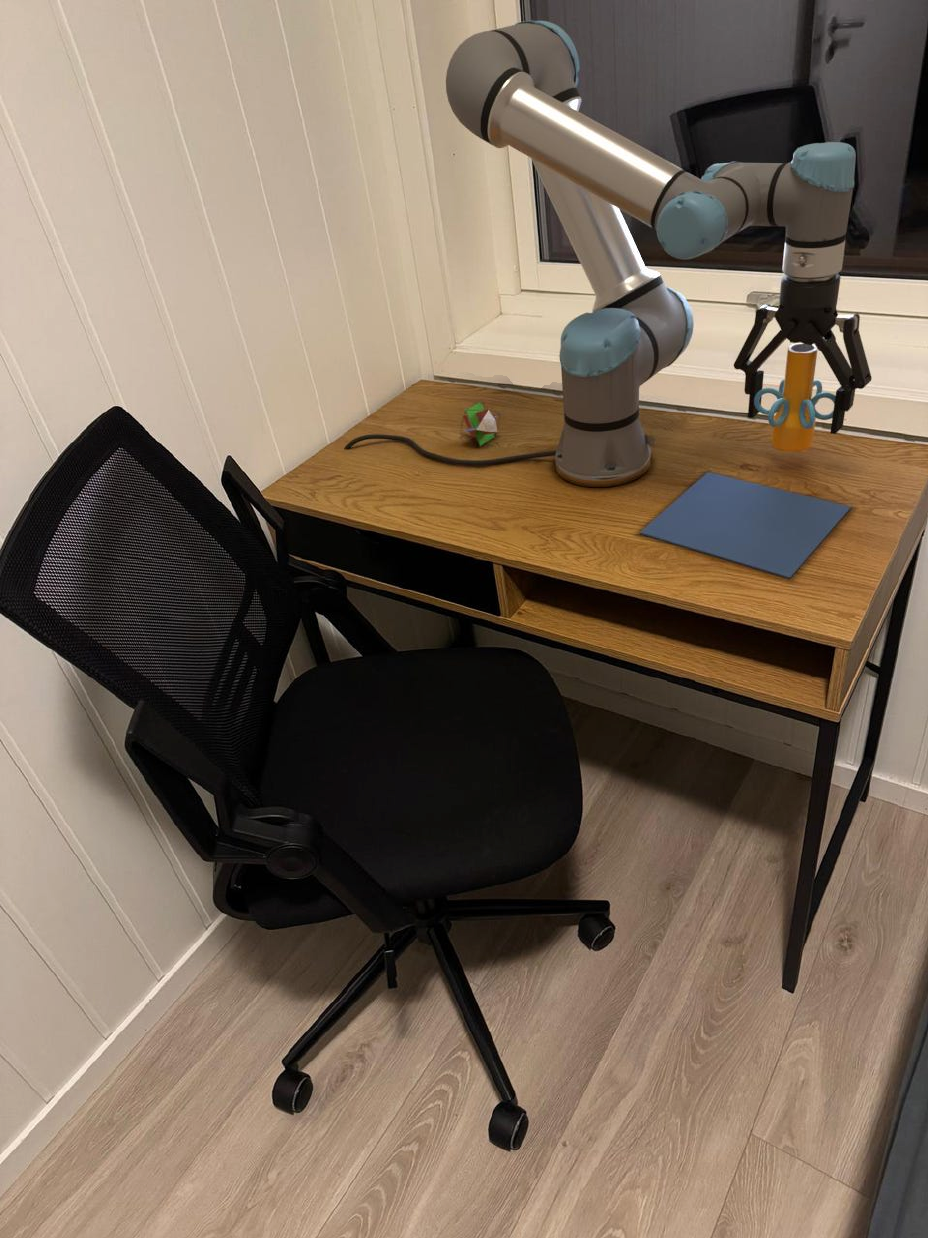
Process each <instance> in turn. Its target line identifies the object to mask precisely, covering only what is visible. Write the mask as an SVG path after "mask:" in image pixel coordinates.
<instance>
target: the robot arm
mask: <svg viewBox="0 0 928 1238" xmlns="http://www.w3.org/2000/svg"><path fill="white" fill-rule="evenodd" d="M580 68H581V67H580V59H579V54H578V51H577V49H576V46H575V44H574V41H572V39H571V37H570V36H569V35H568V33H567V32H566V31H565V30H564V29H563V28H561V27H560V26H559V25H558V24H556V23H553V22H550V21H546V20H532V19H531V20H529V19H528V20H523V21H519V22H517V23H515V24H512V25H508V26H504V27H500V28H495V29H491V30H485V31H481V32H477V33H475V34H472V35H470V36H469V37H467V38H465V40H463V41H462V42H461V43H460V44H459V46H457V48H456V49H455V51H454V52H453V54H452V55H451V58H450V60H449V63H448V66H447V69H446V74H445V75H446V76H445V90H446V91H445V92H446V97H447V101H448V104H449V106H450V109H451V110H452V113H453V114H454V116H455V118H457V120H458V121H459V123H460V124H461V125H462V126H463V127H465V128H466V130H468V132H470V133H471V134H474V136H476V137H478V138H479V139H481V140H482V141H484V142H486V143H488V144H490V145H491V146H493V147H495V148H497V149H504V148H507V147H508V146H509V147H511V148H513V149H514V150H516V151H518V152H520V153H521V154H523V155H525V156H526V157H528V158H530V160H531V161H532V164H533V166H534V167H535V171H536V172H537V174H538V176H539V178H540V181H541V182H542V184H543V187H544V189H545V191H546V194H547V195H548V197H549V200H550V202H551V204H552V206H553V208H554V210H555V212H556V214H557V217H558V219H559V221H560V223H561V225H562V227H563V229H564V232H565V233H566V236H567V238H568V239H569V243H570V244H571V246H572V248H573V251H574V252H575V255H576V257H577V259H578V261H579V263H580V265H581V267H582V270H583V272H584V274H585V276H586V278H587V280H588V282H589V284H590V287H591V288H592V291H593V293H594V296H595V300H594V303H593V307H592V310H591V311H592V312H584V313H582V314H580V315H578V316H576V317H574V318H573V319H571V320H570V321H569V322H568V323H567V324H566V325H565V327H564V328H563V330H562V332H561V335H560V349H559V357H558V358H559V363H560V370H561V386H562V403H563V418H564V419H563V420H564V423H563V426H562V431H561V434H560V438H559V441H558V444H557V447H556V450H546V451H540V452H532V453H526V454H525V453H524V454H518V455H512V456H505V457H498V458H492V459H480V460H479V459H478V460H477V459H476V460H474V459H459V458H452V457H447V456H443V455H441V454H440V455H439V454H436V453H433V452H430V451H428V450H426V449H424V448H422V447H420V445H419V444H417V443H416V442H415V441H414V440H413V439H411V438H409V437H406V436H401V435H392V434H381V433H379V434H378V433H377V434H376V433H375V434H374V433H373V434H365V435H361V436H358V437H355V438H353V439H352V440H350V441H349V442H348V443H347V444H346V445H345V446H344V448H343V449H344V450H350V449H351V448H352V447H353V446H355V445H356V444H357V443H360V442H362V441H368V440H387V441H388V440H389V441H398V442H399V441H400V442H403V443H406V444H408V445H410V446H411V447H412V448H413V449H414V450H416V451H417V452H418V453H420V454H421V455H423V456H425V457H428V458H430V459H433V460H436V461H439V462H444V463H448V464H453V465H460V466H461V465H462V466H488V465H489V466H490V465H496V464H504V463H509V462H516V461H523V460H530V459H538V458H545V457H554V463H555V471H556V473H557V474H558V475H559V477H561V478H562V479H563V480H565V481H567V482H568V483H571V484H574V485H578V486H583V487H592V488H604V487H613V486H619V485H624V484H626V483H629V482H632V481H635V480H636V479H639V478H641V477H642V476H643V475H644V474H645V473H647V471H648V470H649V469H650V467H651V460H652V459H651V457H652V456H651V454H652V453H651V452H652V451H651V448H650V446H651V447H653V448H655V438H654V437H652V436H650V435H647V434H646V433H645V431H644V428H643V425H642V423H641V420H640V387H641V386H643V385H644V384H645V383H646V382H647V381H649V380H650V379H652V378H653V377H654V376H655V375H656V374H658V373H659V372H661V371H662V370H663V369H665V368H667V367H670V366H671V365H673V364H674V363H675V361H677V359H679V357H680V356H681V355H682V354H683V353H684V352H685V351H686V350H687V348H688V347H689V344H690V342H691V339H692V337H693V333H694V322H695V321H694V315H693V311H692V308H691V306H690V304H689V302H688V300H687V299H686V297H684V295H683V294H682V293H681V292H680V291H675V290H674V288H672V287H669V286H666V284H665V282H664V279H663V278H662V276H661V273H660V272H659V271H655V270H652V269H649V268H647V266H645V263H644V261H643V259H642V257H641V254H640V252H639V250H638V248H637V245H636V243H635V241H634V238H633V236H632V234H631V232H630V230H629V228H628V225H627V223H626V220H625V219H624V217H623V214H622V212H623V213H625V214H627V215H629V216H631V217H633V218H635V219H636V220H638V221H640V222H641V223H643V224H645V225H647V226H648V227H649V228H651V229H653V230H655V231H656V236H657V239H658V242H659V243H660V245H661V247H662V248H663V250H664V252H666V253H667V254H668V255H669V256H671V257H673V258H675V259H677V260H683V261H684V260H685V261H686V260H692V259H695V258H697V257H700V256H702V255H704V254H708V253H710V252H712V251H713V250H715V248H718V246H719V245H721V244H722V243H723V242H725V241H726V240H728V239H729V238H731V237H733V236H734V235H737V234H738V233H740V232H741V231H743V230H744V229H747V228H748V227H754V226H756V227H757V226H759V227H777V228H778V227H785V237H784V249H783V259H782V272H783V274H784V275H783V276H782V277H781V279H780V289H779V291H780V292H779V305H778V308H777V307H772V306H771V304H770V303H765V304H763V305H762V306H760V307H759V308H757V310H756V311H755V317H754V323H753V325H752V328H751V329H750V331H749V333H748V336H746V339H745V341H744V343H743V345H742V347H741V349H740V351H739V353H738V354H737V357H736V359H735V360H734V363H733V368H734V369H735V370H740V371H742V372H743V373H744V374H745V377H744V395H747V396H748V395H749V398H748V408H747V409H748V410H747V418H749V419H754V417H756V416H757V415H759V414H760V412H759V411H758V410H757V409H756V407H755V405H754V398H755V395H756V394H757V393H758V392H759V391H760V390H762V389H763V385H764V376H765V375H764V374H765V371H764V370H761V366H762V365H764V364H765V363H766V361H767V360H768V359H769V358H770V357H771V356H772V355H773V354H774V353H775V351H777V350H778V348H779V347H780V346H781V345H782V344H783V343H784V342H785V341H786V340H788V341H789V343H792V344H795V343H803V344H806V345H812V344H814V345H816V347H817V349H818V350H817V351H819V352H821V354H822V355H823V357H824V359H825V361H826V362H827V364H828V366H829V368H830V369H831V371H832V373H833V374H834V376H835V378H836V380H837V381H838V383H839V385H840V387H838V388H837V390H836V391H835V403H834V402H833V410H832V411H833V417H832V418H831V425H830V431H829V433H830V434H834V435H836V434H838V432H839V431H840V430H841V429H842V428H843V427H844V421H845V415H846V412H849V410H851V409H852V407H853V406H854V402H855V401H854V400H855V396H856V395H855V394H856V390H857V389H859V390H862V389H864V388H865V387H866V386H868V384H869V383H871V382H872V380H873V379H872V373H871V370H870V366H869V363H868V359H867V355H866V352H865V348H864V343H863V341H862V338H861V337H862V336H861V334H860V333H861V332H860V321H861V316H860V314H859V313H858V312H854V313H852V314H851V315H842V314H839V313H838V311H837V305H838V300H839V292H840V285H841V275H840V274H839V273H840V272H841V271H842V269H843V263H844V254H845V247H846V238H847V231H848V230H847V229H848V225H849V224H848V223H849V216H850V211H851V204H852V197H853V192H854V188H855V171H856V170H855V169H856V158H857V157H856V156H857V154H856V149H855V148H854V147H853V146H852V145H851V144H849V143H846V142H839V141H827V142H826V141H825V142H820V143H819V142H815V143H814V142H813V143H810V144H805V145H803V146H800V147H797V149H796V150H795V151H794V152H793V155H792V160H791V161H790V162H787V163H786V162H785V163H784V162H783V163H782V162H781V163H778V162H776V163H774V162H772V163H771V162H739V161H738V160H737V161H730V162H723V163H722V162H721V163H713V164H712V165H710V166H709V167H707V168H706V170H705V171H704V175H702V176H701V177H700V178H699V177H698V176H695V175H694V174H691V173H690V172H688V171H687V170H684V169H683V168H681V167H680V166H677V165H676V164H674V163H672V162H670V161H668V160H666V159H665V158H663V157H661V156H659V155H658V154H656V153H654V152H652V151H650V150H649V149H647V148H645V147H643V146H641V145H640V144H638V143H636V142H634V141H632V140H631V139H629V138H627V137H625V136H624V135H621V134H620V133H618V132H616V131H615V130H612V129H610V128H609V127H607V126H605V125H603V124H601V123H599V122H598V121H596V120H594V119H593V118H591V117H589V116H587V115H585V114H584V113H582V112H580V109H581V104H582V102H583V99H582V97H581V95H580V93H579V90H578V88H577V87H578V83H579V78H580V77H579V71H580ZM621 211H622V212H621ZM774 319H775V321H776V323H777V325H778V326H779V328H780V330H779V331H778V332H777V333H776V335H774V336H773V337H772V339H771V340H770V341H769V343H767V345H766V346H765V347H764V348H763V349H762V350H761V351H760V352H759V353H758V354H757V355H756V357H755V358H754V359H753V360H750V359H751V357H752V355H753V353H754V352H755V350H756V349H757V346H758V344H759V342H760V341H761V338H762V336H763V334H764V333H765V331H766V329H767V327H768V325H769V323H771V322H772V321H773V320H774ZM835 326H838V328H839V332H840V333H842V340H843V343H844V346H845V347H844V348H845V350H846V354H847V358H848V360H847V359H846V357H845V355H844V353H843V351H842V350H841V348H840V346H839V344H838V343H837V338H836V336H835V334H834V332H833V330H832V329H833V328H834V327H835ZM848 361H849V362H848ZM759 369H760V370H759ZM762 396H763V395H762ZM762 396H761V397H760V400H759V402H760V405H761V406H762V398H763V397H762Z"/></svg>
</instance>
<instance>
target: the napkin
mask: <svg viewBox="0 0 928 1238" xmlns="http://www.w3.org/2000/svg"><path fill="white" fill-rule="evenodd" d="M851 509H852V506H851V505H846V504H842V503H838V502H834V501H830V500H826V499H821V498H817V497H813V496H808V495H806V494H800V493H797V492H792V491H789V490H784V489H781V488H775V487H771V486H767V485H763V484H759V483H755V482H752V481H746V480H742V479H738V478H734V477H730V476H725V475H721V474H718V473H714V472H709V471H707V472H706V473H705V474H704V475H703V476H702V477H700V478H699V479H698V480H697V481H696V482H694V483H693V484H692V485H691V486H690V487H689V488H688V489H686V491H685V492H683V493H682V494H681V495H680V496H679V497H678V498H677V499H676V500H674V501H673V502H672V503H670V504H669V506H667V508H665V509H664V510H663V511H662V512H661V513H659V515H657V516H656V517H655V518H654V519H653V520H652V521H650V522H649V523H648V524H647V525H646V526H645V527H644V528H643V529H642V530H641V531H639V535H642V536H646V537H649V538H651V539H656V540H659V541H662V542H664V543H669V544H671V545H674V546H678V547H682V548H685V549H688V550H692V551H695V552H698V553H702V554H705V555H708V556H711V557H714V558H718V559H721V560H725V561H728V562H731V563H735V564H738V565H742V566H743V567H744V566H745V567H747V568H752V569H755V570H758V571H761V572H764V573H768V574H771V575H774V576H777V577H781V578H785V579H788V580H791V579H792V577H793V576H794V575H795V574H796V573H797V572H798V570H799V569H800V568H801V567H802V566H803V565H804V564H805V562H807V560H808V559H809V558H810V556H811V555H812V554H813V553H814V552H815V551H816V550H817V549H818V547H819V546H820V545H821V544H822V543H823V541H824V540H825V539H826V538H827V537H828V536H829V534H830V533H831V532H832V531H833V530H834V529H835V527H837V525H838V524H839V523H840V522H841V521H842V519H843V518H844V517H845V516H846V515H847V514H848V513H849V512H850V510H851Z"/></svg>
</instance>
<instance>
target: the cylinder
mask: <svg viewBox="0 0 928 1238" xmlns="http://www.w3.org/2000/svg"><path fill="white" fill-rule="evenodd" d="M818 351H819V350H818V349H817V347H816V345H815V344H812V345H806V344H803V343H801V342H799V343H792V344H790V345H789V346H787V352H786V363H785V371H784V378H783V379H781V381H780V382H779V387H778V389H776V388H773V387H764V388H762V390H760V391H759V392H758V393H757V394H756V395H755V398H754V405H755V407H756V409H757V410H758V411H759V414H760V413H761V414H763V415H766V416H767V420H768V424H769V426H771V427H772V429H771V439H770V442H771V445H772V447H773V448H775V449H776V450H779V451H783V452H788V453H789V452H790V453H795V452H803V451H806V450H808V449H810V448H811V447H812V445H813V442H814V435H815V430H816V429H815V428H816V419H817V420H821V421H828V420H832V417H833V410H832V411H831V412H830V413H827V414H822V413H820V412H818V411H817V409H816V405H817V403H818V402H819V401H820V400H821V399H829V400H830V401H832V403H833V404H834V403H835V396H836V394H834V393H832V392H828V391H827V392H826V391H823V384H822V382H821V381H820V380H819V379H815V375H816V374H815V373H816V365H817V358H818ZM814 387H816V393H815V395H814V396H813V389H814ZM765 394H771V395H773V396H775V398H776V399H777V400H775V401H774V403H773V404H772V405H771V407H770V409H766V408H764V407H763V406H762V404H761V405H760V402H759V400H760V397H761V396H763V395H765Z"/></svg>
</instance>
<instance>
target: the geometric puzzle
mask: <svg viewBox="0 0 928 1238" xmlns="http://www.w3.org/2000/svg"><path fill="white" fill-rule="evenodd" d="M483 405H484V407H485V408H486V409H485V408H484V407H483ZM489 408H490V409H489ZM492 411H494V410H493V408H491V407H489V406H488V405H486V404H485V403H484V402H482V401H481V400H480V401H479V402H477V403H475V404H473V405H472V406H471V407H469V408H467V409H464V413H463V414H464V415H462V419H461V422H465V425H466V427H467V428H466V429H464V430H463V431H462V430H460V432H459V434H460V435H463V436H464V437H465V436H466V437H465V438H466V439H468V440H470V441H471V442H473V443H475V444H476V445H477V446H479V447H481V446H483V445H484V444H487V442H489V441H490V440H492V439H493V438H496V436H497V433H499V430H498V427H499V424H497V422H500V419H498V420H496V418H497V417H499V418H501V413H498V414H497V411H494V413H496V414H495V415H493V414H492ZM462 427H463V424H461V426H460V429H462ZM464 433H469V434H470V435H467V434H464ZM469 438H471V439H474V438H476V440H477V441H476V440H473V441H472V440H471V439H469Z"/></svg>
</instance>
